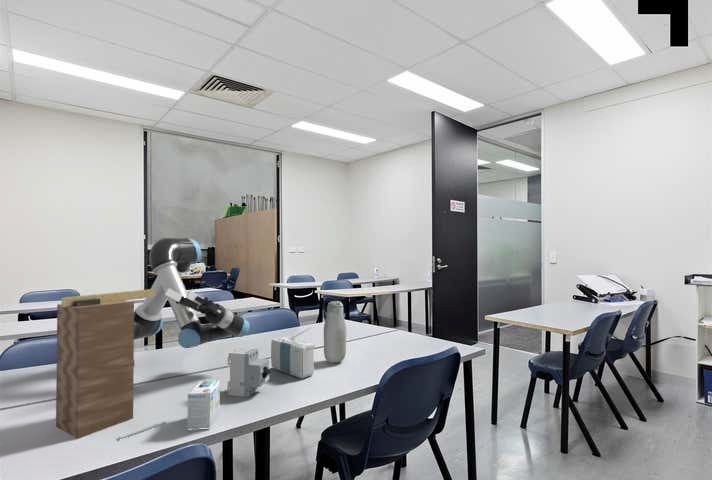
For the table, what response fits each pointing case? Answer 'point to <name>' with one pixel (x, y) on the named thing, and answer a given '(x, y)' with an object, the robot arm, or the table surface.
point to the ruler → (142, 430)
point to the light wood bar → (110, 297)
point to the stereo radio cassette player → (293, 356)
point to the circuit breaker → (246, 371)
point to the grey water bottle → (334, 333)
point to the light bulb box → (203, 404)
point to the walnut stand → (94, 366)
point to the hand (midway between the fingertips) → (176, 292)
